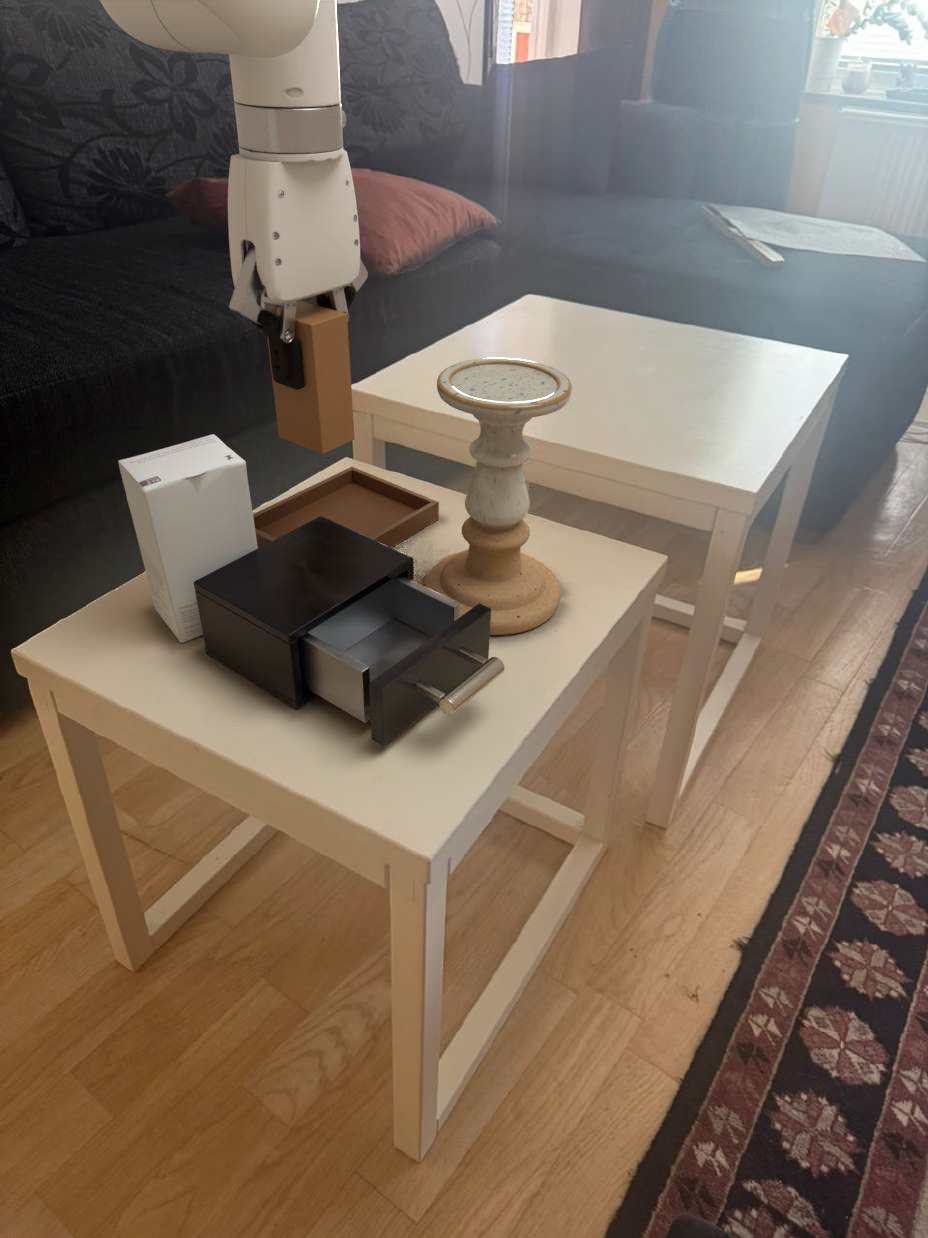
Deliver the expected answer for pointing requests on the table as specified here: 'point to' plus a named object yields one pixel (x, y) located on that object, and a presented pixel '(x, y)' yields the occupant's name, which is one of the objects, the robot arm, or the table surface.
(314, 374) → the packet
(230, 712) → the table surface
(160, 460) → the cosmetic box
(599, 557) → the table surface
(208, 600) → the black drawer housing
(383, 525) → the tray
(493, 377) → the candle holder
